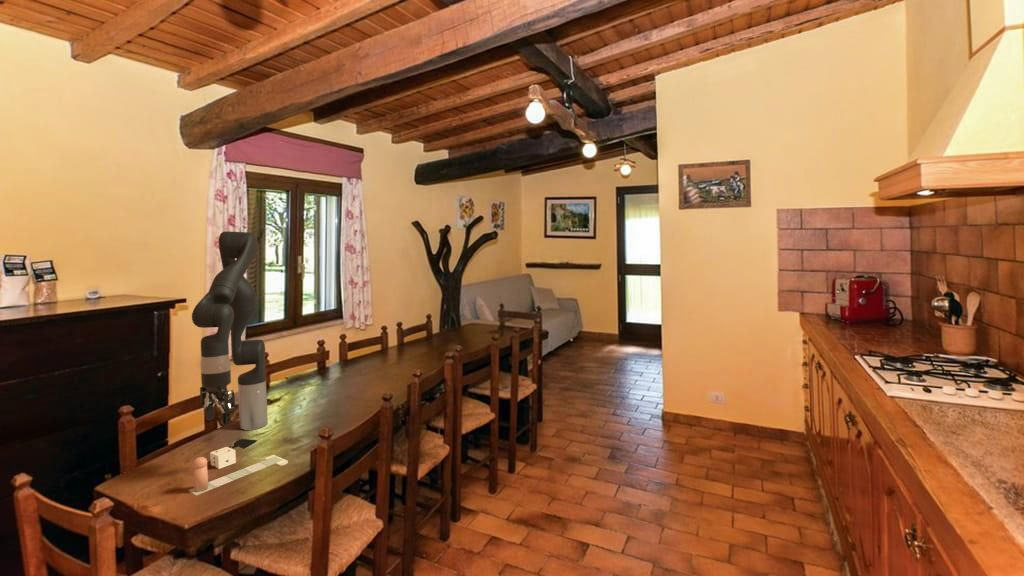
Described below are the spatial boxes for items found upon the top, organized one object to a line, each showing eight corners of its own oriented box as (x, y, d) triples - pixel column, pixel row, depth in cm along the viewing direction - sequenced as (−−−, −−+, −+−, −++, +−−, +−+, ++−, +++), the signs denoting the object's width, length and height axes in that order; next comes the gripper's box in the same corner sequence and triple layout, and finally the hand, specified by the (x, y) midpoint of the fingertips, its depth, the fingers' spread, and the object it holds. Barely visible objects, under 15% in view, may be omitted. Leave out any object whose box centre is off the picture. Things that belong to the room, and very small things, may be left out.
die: (210, 468, 143) (209, 452, 142) (228, 461, 147) (227, 445, 147) (218, 472, 140) (217, 456, 139) (236, 465, 144) (235, 449, 144)
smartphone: (206, 457, 149) (240, 438, 164) (206, 460, 149) (240, 440, 164) (226, 459, 148) (258, 440, 162) (226, 461, 148) (259, 441, 162)
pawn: (191, 489, 128) (189, 458, 127) (205, 484, 131) (203, 453, 130) (197, 493, 126) (195, 461, 125) (211, 488, 129) (209, 456, 128)
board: (182, 492, 128) (182, 489, 128) (273, 457, 150) (273, 454, 150) (196, 501, 124) (196, 498, 124) (287, 463, 146) (287, 460, 146)
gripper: (242, 369, 139) (244, 422, 140) (215, 364, 146) (217, 414, 147) (216, 375, 132) (219, 430, 133) (189, 369, 139) (192, 422, 140)
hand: (218, 422), depth 140 cm, fingers open, 8 cm apart
